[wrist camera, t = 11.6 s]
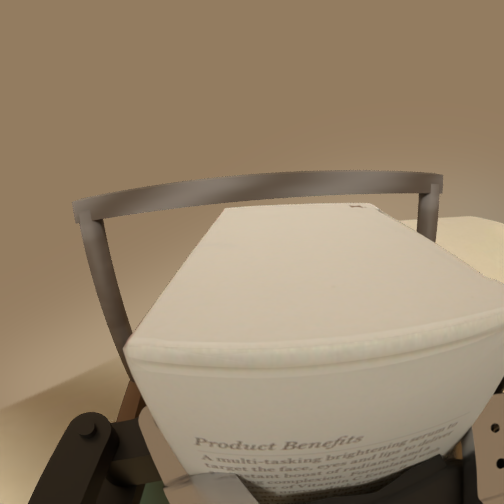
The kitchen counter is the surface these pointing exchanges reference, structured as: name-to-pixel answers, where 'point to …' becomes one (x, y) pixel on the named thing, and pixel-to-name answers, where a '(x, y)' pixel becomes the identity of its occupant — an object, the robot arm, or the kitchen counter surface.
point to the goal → (214, 192)
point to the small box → (317, 351)
